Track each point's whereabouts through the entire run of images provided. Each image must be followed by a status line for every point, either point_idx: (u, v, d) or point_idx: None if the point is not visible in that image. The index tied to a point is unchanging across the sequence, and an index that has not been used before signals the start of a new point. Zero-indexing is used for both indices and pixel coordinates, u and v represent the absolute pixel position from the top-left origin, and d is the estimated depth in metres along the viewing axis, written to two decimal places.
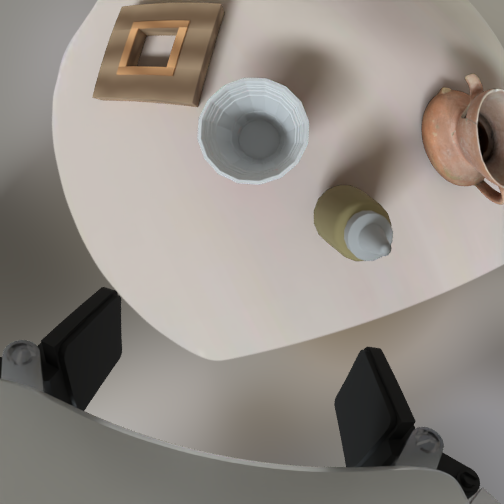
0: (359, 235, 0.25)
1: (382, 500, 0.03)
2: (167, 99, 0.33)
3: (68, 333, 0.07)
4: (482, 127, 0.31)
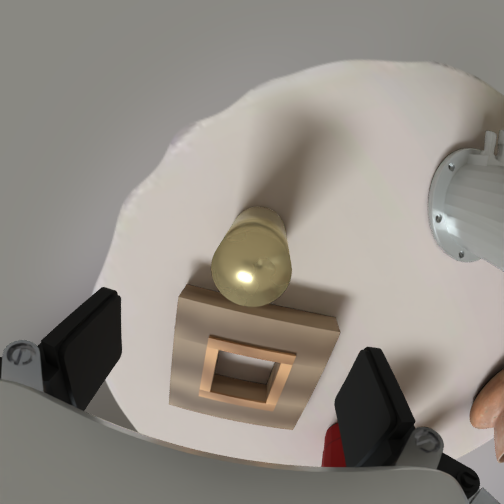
0: None
1: (382, 500, 0.03)
2: (265, 425, 0.32)
3: (67, 333, 0.07)
4: None
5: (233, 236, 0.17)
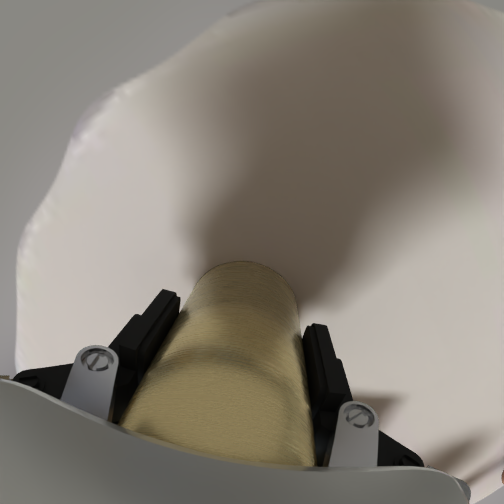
0: None
1: (382, 500, 0.03)
2: None
3: (145, 335, 0.08)
4: None
5: None
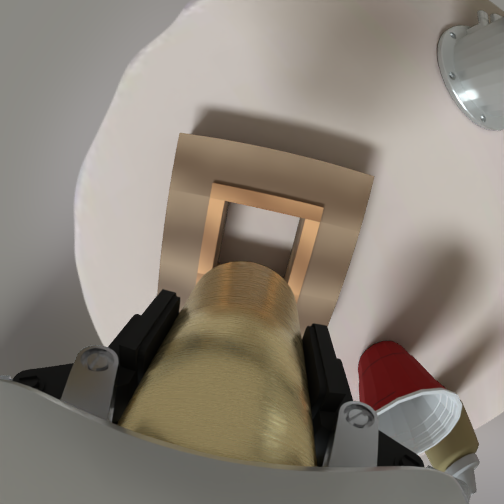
0: (457, 476, 0.18)
1: (382, 500, 0.03)
2: None
3: (145, 336, 0.08)
4: None
5: None
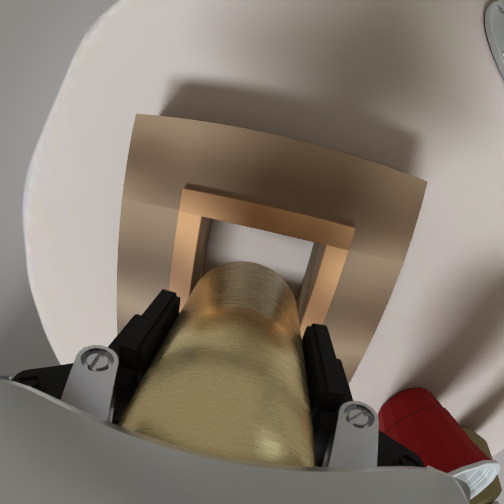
0: None
1: (382, 500, 0.03)
2: None
3: (145, 335, 0.08)
4: None
5: None
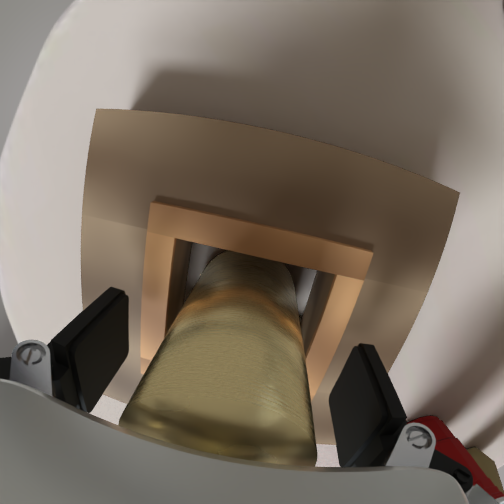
0: None
1: (382, 500, 0.03)
2: None
3: (78, 333, 0.07)
4: None
5: (154, 400, 0.05)
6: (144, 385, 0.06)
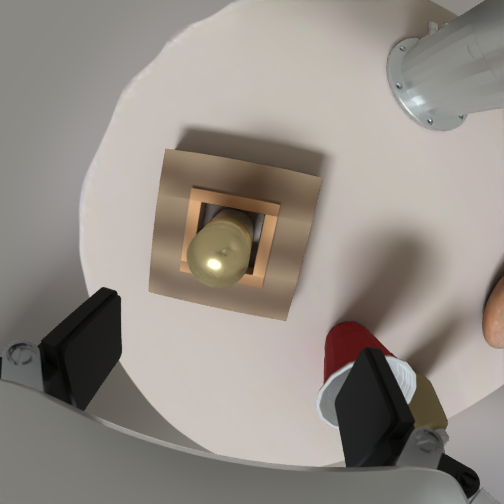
0: None
1: (382, 500, 0.03)
2: (255, 314, 0.32)
3: (68, 333, 0.07)
4: None
5: (202, 231, 0.22)
6: (197, 233, 0.23)
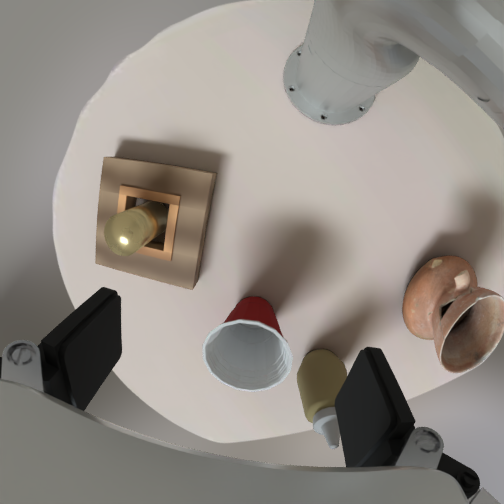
0: (321, 426, 0.32)
1: (382, 500, 0.03)
2: (168, 282, 0.40)
3: (68, 333, 0.07)
4: None
5: (112, 216, 0.30)
6: None
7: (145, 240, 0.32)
